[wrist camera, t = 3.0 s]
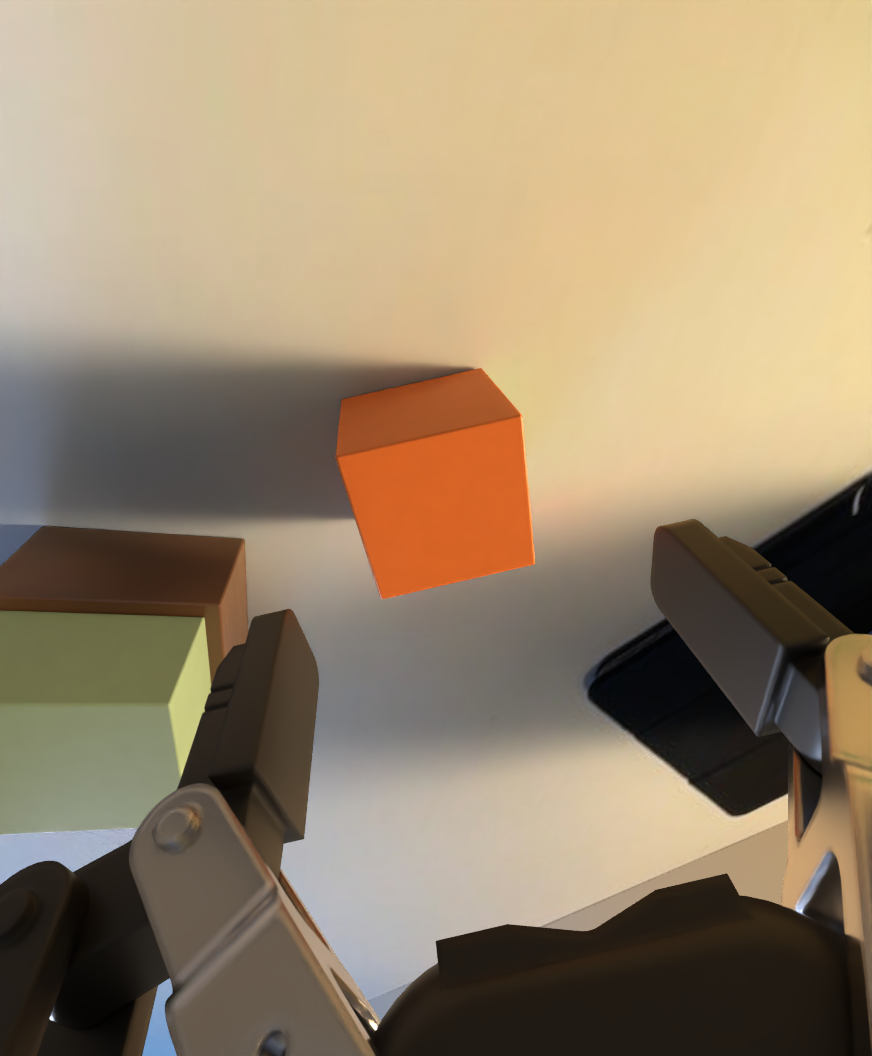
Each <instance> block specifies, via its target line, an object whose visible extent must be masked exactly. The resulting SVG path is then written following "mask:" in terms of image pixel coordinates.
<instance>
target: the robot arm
mask: <svg viewBox="0 0 872 1056" xmlns="http://www.w3.org/2000/svg"><path fill="white" fill-rule="evenodd" d="M651 590H652V594H653V597H654V600H655V602H656V604H657V606H658V608H659V609H660V611H661V612H662V613H663V615H664V616H665V617H666V618H667V620H668V621H669V622H670V624H671V625H672V626H673V628H674V629H675V630H676V631H677V633H678V634H679V635H680V637H681V638H682V639H683V641H684V642H685V643H686V644H687V646H688V647H689V648H690V650H691V651H692V652H693V654H694V655H695V656H696V657H697V659H698V660H699V661H700V663H701V664H702V665H703V667H704V668H705V669H706V670H707V672H708V673H709V674H710V676H711V677H712V678H713V680H714V681H715V682H716V683H717V685H718V686H719V687H720V689H721V690H722V691H723V693H724V694H725V695H726V696H727V698H728V699H729V700H730V702H731V703H732V704H733V706H734V707H735V708H736V709H737V711H738V712H739V713H740V715H741V716H742V717H743V719H744V720H745V721H746V722H747V724H748V725H749V726H750V728H751V729H752V730H753V732H754V733H755V734H756V735H757V737H759V736H764V735H768V734H772V733H777V732H781V731H782V732H783V733H784V735H785V736H786V737H787V738H788V739H789V741H790V742H791V745H790V748H789V753H788V857H787V865H786V870H785V875H784V880H783V887H782V896H781V905H779V904H775V903H773V902H769V901H766V900H762V899H757V898H752V897H747V896H739V894H738V892H737V890H736V889H735V887H734V885H733V883H732V881H731V880H730V878H729V876H728V874H722V875H718V876H714V877H710V878H706V879H701V880H697V881H692V882H688V883H684V884H680V885H675V886H671V887H667V888H662V889H658V890H655V891H654V892H652V893H650V894H649V895H647V896H646V897H644V898H642V899H641V900H639V901H638V902H636V903H635V904H633V905H632V906H630V907H628V908H627V909H625V910H624V911H622V912H621V913H619V914H618V915H616V916H614V917H613V918H611V919H610V920H608V921H606V922H605V923H603V924H602V925H601V926H599V927H597V928H595V929H593V930H590V931H572V930H562V929H551V928H541V927H530V926H520V925H509V924H507V925H503V926H498V927H494V928H490V929H486V930H481V931H477V932H473V933H468V934H464V935H460V936H455V937H451V938H447V939H442V940H438V941H436V947H437V957H438V963H437V964H436V965H434V966H433V967H431V968H429V969H428V970H426V971H425V972H424V973H423V974H422V975H421V976H419V977H418V978H417V979H416V980H415V981H413V982H412V983H411V984H410V985H409V986H408V987H407V988H406V990H405V991H404V992H403V993H402V994H401V995H400V996H399V997H398V998H397V999H396V1001H395V1002H394V1004H393V1005H392V1006H391V1008H390V1009H389V1010H388V1012H387V1013H386V1014H385V1016H384V1017H383V1019H382V1020H381V1021H380V1019H379V1018H378V1016H377V1015H376V1013H375V1011H374V1010H373V1008H372V1007H371V1005H370V1004H369V1002H368V1001H367V999H366V998H365V996H364V995H363V993H362V992H361V990H360V989H359V987H358V986H357V984H356V983H355V981H354V980H353V979H352V977H351V976H350V974H349V973H348V972H347V970H346V969H345V967H344V966H343V965H342V963H341V962H340V960H339V959H338V957H337V956H336V954H335V953H334V951H333V949H332V948H331V946H330V945H329V943H328V942H327V940H326V938H325V937H324V935H323V934H322V932H321V931H320V929H319V927H318V926H317V924H316V923H315V921H314V920H313V918H312V916H311V915H310V913H309V912H308V910H307V909H306V907H305V905H304V904H303V902H302V901H301V899H300V898H299V896H298V894H297V893H296V891H295V890H294V888H293V887H292V885H291V883H290V882H289V880H288V879H287V877H286V876H285V874H284V872H283V871H282V870H281V868H280V866H281V858H282V851H283V844H284V843H288V842H292V841H297V840H301V839H304V833H305V823H306V812H307V802H308V792H309V781H310V771H311V761H312V750H313V740H314V730H315V719H316V709H317V699H318V689H319V675H318V668H317V663H316V660H315V657H314V655H313V652H312V650H311V648H310V646H309V644H308V642H307V640H306V637H305V635H304V633H303V631H302V629H301V627H300V624H299V622H298V620H297V618H296V616H295V614H294V612H293V611H292V610H291V609H286V610H282V611H277V612H273V613H268V614H264V615H259V616H256V617H254V618H253V619H252V622H251V625H250V628H249V632H248V635H247V639H246V643H245V644H240V645H236V646H233V647H232V649H231V650H230V651H229V653H228V654H227V655H226V657H225V658H224V659H223V661H222V662H221V663H220V665H219V666H218V667H217V670H216V673H215V676H214V679H213V682H212V685H211V688H210V690H211V693H210V694H208V697H207V700H206V704H205V707H204V709H205V712H203V713H202V716H201V719H200V722H199V725H198V728H197V731H196V734H195V737H194V740H193V743H192V746H191V749H190V752H189V755H188V758H187V761H186V764H185V767H184V770H183V773H182V776H181V779H180V782H179V785H178V788H177V790H176V791H174V792H172V793H171V794H169V795H168V796H166V797H165V798H164V799H162V800H161V801H160V802H159V803H158V804H157V805H156V806H155V807H154V808H153V809H152V810H151V811H150V812H149V813H148V814H147V816H146V817H145V818H144V819H143V821H142V822H141V824H140V826H139V827H138V829H137V831H136V833H135V835H134V837H133V839H132V840H131V841H129V842H128V843H126V844H124V845H122V846H120V847H119V848H117V849H115V850H113V851H111V852H109V853H108V854H106V855H104V856H102V857H100V858H98V859H97V860H95V861H93V862H91V863H89V864H87V865H86V866H84V867H82V868H80V869H78V870H76V871H74V872H72V871H70V870H69V869H68V868H66V867H65V866H64V865H62V864H61V863H59V862H56V861H43V862H39V863H36V864H33V865H30V866H28V867H26V868H24V869H22V870H20V871H19V872H17V873H16V874H14V875H13V876H11V877H10V878H9V879H7V880H6V881H5V882H3V883H2V884H1V885H0V1056H142V1053H143V1049H144V1045H145V1040H146V1036H147V1031H148V1027H149V1023H150V1018H151V1014H152V1009H153V1005H154V1001H155V996H156V992H157V987H158V985H159V984H161V983H162V982H164V981H166V980H167V979H169V978H170V979H171V983H172V988H173V994H172V995H171V996H170V997H169V998H168V999H167V1001H166V1004H165V1015H166V1021H167V1025H168V1029H169V1032H170V1036H171V1039H172V1042H173V1045H174V1048H175V1051H176V1054H177V1056H872V635H868V634H855V633H853V632H852V631H851V630H850V629H849V628H847V627H846V626H845V625H844V624H843V623H841V622H840V621H839V620H838V619H837V618H835V617H834V616H833V615H832V614H831V613H829V612H828V611H827V610H826V609H825V608H823V607H822V606H821V605H820V604H819V603H817V602H816V601H815V600H814V599H813V598H811V597H810V596H809V595H808V594H807V593H805V592H804V591H803V590H802V589H801V588H799V587H798V586H797V585H796V584H795V583H793V582H792V581H788V580H787V577H786V576H785V575H784V574H783V573H781V572H780V571H779V570H778V569H777V568H775V567H773V568H772V567H771V563H769V562H768V561H767V560H766V559H765V558H763V557H762V556H761V555H760V554H759V553H757V552H756V551H755V550H754V549H753V548H751V547H749V546H746V545H744V544H742V543H740V542H738V541H735V540H733V539H731V538H729V537H726V536H724V537H720V538H718V537H717V536H716V535H714V534H713V533H712V532H711V531H710V530H709V529H708V528H706V527H705V526H704V525H703V524H702V523H701V522H699V521H698V520H696V519H691V520H686V521H682V522H677V523H673V524H668V525H664V526H660V527H658V528H657V529H656V530H655V533H654V542H653V555H652V568H651Z"/></svg>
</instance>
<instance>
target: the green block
mask: <svg viewBox="0 0 872 1056" xmlns="http://www.w3.org/2000/svg"><path fill="white" fill-rule="evenodd" d="M210 688H211V678H210V668H209V658H208V647H207V637H206V627H205V618H204V617H186V616H156V615H126V614H97V613H67V612H37V611H7V610H0V835H1V834H22V833H44V832H65V831H87V830H108V829H130V828H138V827H139V826H140V824H141V822H142V821H143V819H144V818H145V817H146V816H147V814H148V813H149V812H150V811H151V810H152V809H153V808H154V807H155V806H156V805H157V804H158V803H159V802H160V801H161V800H162V799H164V798H165V797H166V796H168V795H169V794H171V793H172V792H174V791H176V790H177V788H178V785H179V782H180V779H181V776H182V773H183V770H184V767H185V764H186V761H187V758H188V755H189V752H190V749H191V746H192V743H193V740H194V737H195V734H196V731H197V728H198V725H199V722H200V719H201V716H202V713H203V712H205V709H204V707H205V704H206V700H207V697H208V694H210V693H211V690H210Z"/></svg>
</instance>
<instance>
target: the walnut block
mask: <svg viewBox="0 0 872 1056" xmlns="http://www.w3.org/2000/svg"><path fill="white" fill-rule="evenodd" d="M0 610H7V611H37V612H67V613H97V614H126V615H156V616H186V617H204V618H205V627H206V637H207V647H208V658H209V668H210V678H211V685H212V682H213V679H214V676H215V673H216V670H217V667H218V666H219V665H220V663H221V662H222V661H223V659H224V658H225V657H226V655H227V654H228V653H229V651H230V650H231V649H232V647H233V646H236V645H240V644H245V643H246V639H247V635H248V615H247V589H246V562H245V541H244V539H236V538H220V537H205V536H189V535H174V534H158V533H143V532H127V531H112V530H96V529H81V528H65V527H50V526H43V527H41V528H40V529H39V530H38V531H37V532H36V533H35V534H34V535H33V536H32V537H31V538H30V539H29V540H28V541H27V542H25V543H24V544H23V545H22V546H21V547H20V548H19V549H18V550H17V551H16V552H15V553H14V554H13V555H12V556H11V557H10V558H9V559H8V560H6V561H5V562H4V563H3V564H2V565H1V566H0Z"/></svg>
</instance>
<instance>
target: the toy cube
mask: <svg viewBox="0 0 872 1056" xmlns="http://www.w3.org/2000/svg"><path fill="white" fill-rule="evenodd" d="M336 461H337V464H338V468H339V471H340V474H341V477H342V480H343V483H344V486H345V489H346V492H347V495H348V499H349V502H350V505H351V508H352V511H353V514H354V517H355V520H356V523H357V527H358V530H359V533H360V536H361V539H362V542H363V545H364V548H365V551H366V554H367V558H368V561H369V564H370V567H371V570H372V573H373V576H374V579H375V582H376V586H377V589H378V592H379V595H380V598H381V599H386V598H390V597H394V596H399V595H403V594H407V593H412V592H416V591H420V590H425V589H429V588H434V587H438V586H442V585H447V584H451V583H455V582H460V581H464V580H468V579H473V578H477V577H481V576H486V575H490V574H494V573H499V572H503V571H507V570H512V569H516V568H520V567H525V566H529V565H533V564H535V557H534V545H533V534H532V522H531V511H530V499H529V488H528V476H527V465H526V453H525V442H524V430H523V419H522V415H521V414H520V412H519V411H518V410H517V409H516V408H515V407H514V405H513V404H512V403H511V402H510V401H509V400H508V399H507V397H506V396H505V395H504V394H503V393H502V392H501V390H500V389H499V388H498V387H497V386H496V385H495V383H494V382H493V381H492V380H491V379H490V378H489V377H488V375H487V374H486V373H485V372H484V371H483V370H482V369H481V368H480V369H475V370H471V371H466V372H462V373H457V374H453V375H448V376H444V377H439V378H435V379H430V380H426V381H421V382H417V383H412V384H408V385H403V386H399V387H394V388H390V389H385V390H381V391H376V392H372V393H367V394H363V395H358V396H354V397H349V398H345V399H342V400H341V409H340V419H339V429H338V438H337V448H336Z"/></svg>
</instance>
